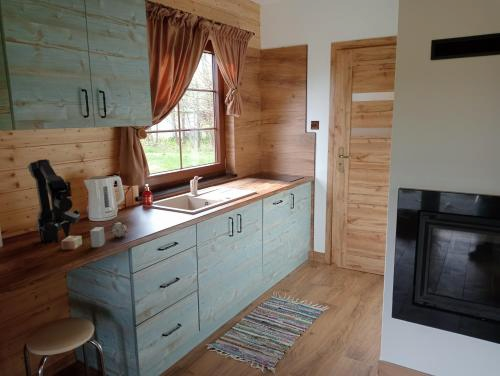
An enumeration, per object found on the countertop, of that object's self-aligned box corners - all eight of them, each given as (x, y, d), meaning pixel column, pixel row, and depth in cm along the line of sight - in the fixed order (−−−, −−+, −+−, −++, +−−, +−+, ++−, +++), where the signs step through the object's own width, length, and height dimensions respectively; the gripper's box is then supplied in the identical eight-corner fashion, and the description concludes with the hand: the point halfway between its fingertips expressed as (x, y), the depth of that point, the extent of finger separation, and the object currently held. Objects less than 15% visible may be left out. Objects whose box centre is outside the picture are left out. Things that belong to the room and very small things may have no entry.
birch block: (61, 241, 192) (69, 235, 199) (62, 249, 192) (70, 243, 200) (73, 241, 191) (81, 235, 199) (74, 249, 192) (82, 243, 200)
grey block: (100, 247, 194) (98, 231, 193) (91, 247, 195) (90, 231, 193) (105, 242, 200) (103, 227, 199) (97, 242, 201) (95, 227, 199)
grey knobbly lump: (119, 242, 211) (119, 224, 216) (131, 238, 208) (132, 220, 212) (105, 239, 204) (106, 220, 208) (118, 234, 201) (119, 215, 205)
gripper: (66, 212, 174) (69, 247, 177) (85, 201, 192) (88, 233, 196) (40, 212, 175) (44, 247, 178) (62, 201, 193) (65, 233, 196)
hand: (62, 240), depth 187 cm, fingers open, 9 cm apart
